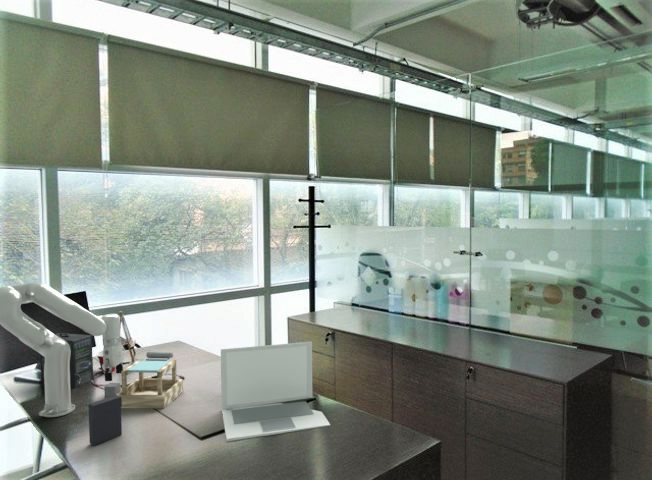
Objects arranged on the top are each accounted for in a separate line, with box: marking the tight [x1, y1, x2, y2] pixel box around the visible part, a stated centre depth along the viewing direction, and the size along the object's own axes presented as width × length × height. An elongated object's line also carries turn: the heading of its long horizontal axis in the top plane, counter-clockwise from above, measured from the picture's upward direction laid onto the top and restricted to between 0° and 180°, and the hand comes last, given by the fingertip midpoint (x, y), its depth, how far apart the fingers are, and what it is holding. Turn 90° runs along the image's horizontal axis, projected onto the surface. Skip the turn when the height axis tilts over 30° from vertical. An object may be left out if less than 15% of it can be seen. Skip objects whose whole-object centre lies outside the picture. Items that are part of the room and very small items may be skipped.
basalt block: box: [103, 382, 122, 399], centre depth 216 cm, size 5×5×6 cm
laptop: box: [220, 341, 331, 443], centre depth 191 cm, size 40×29×28 cm
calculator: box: [87, 395, 123, 446], centre depth 175 cm, size 11×4×15 cm, turn 143°
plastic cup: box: [95, 350, 116, 374], centre depth 249 cm, size 11×11×12 cm
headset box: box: [39, 332, 94, 389], centre depth 235 cm, size 22×12×26 cm, turn 71°
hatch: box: [127, 351, 174, 374], centre depth 215 cm, size 19×14×4 cm
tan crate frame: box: [116, 358, 184, 409], centre depth 213 cm, size 22×22×16 cm
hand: (114, 376), depth 217 cm, fingers open, 9 cm apart
